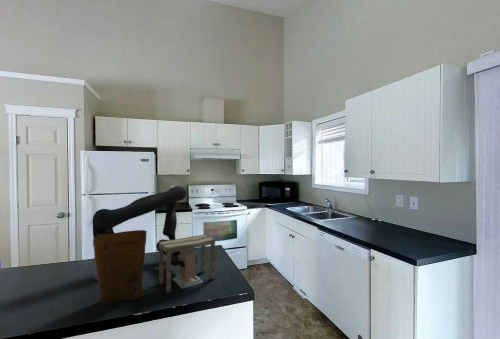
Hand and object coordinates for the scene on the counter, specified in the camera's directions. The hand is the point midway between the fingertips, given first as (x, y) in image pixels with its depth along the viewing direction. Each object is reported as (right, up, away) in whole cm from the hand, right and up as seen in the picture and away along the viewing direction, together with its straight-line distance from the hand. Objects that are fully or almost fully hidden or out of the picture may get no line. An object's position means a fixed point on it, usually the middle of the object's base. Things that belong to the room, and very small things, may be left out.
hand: (189, 264), depth 115 cm
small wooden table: (-2, -9, +2) cm, 9 cm away
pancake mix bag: (-24, -9, -15) cm, 30 cm away
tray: (-2, -9, +2) cm, 9 cm away
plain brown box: (-2, -7, +2) cm, 7 cm away
